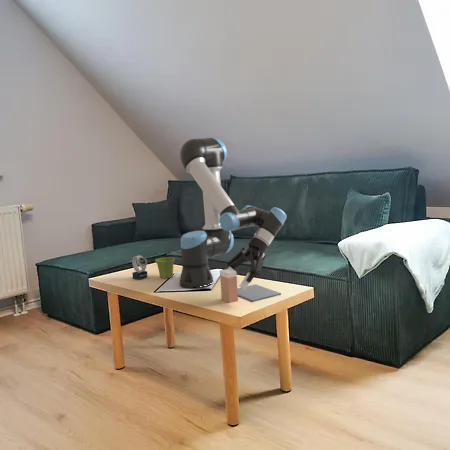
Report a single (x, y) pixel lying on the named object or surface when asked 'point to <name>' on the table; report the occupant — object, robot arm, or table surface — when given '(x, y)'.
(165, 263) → the plant pot
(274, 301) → the table surface
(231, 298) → the block
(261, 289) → the slate mat
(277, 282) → the table surface
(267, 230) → the robot arm
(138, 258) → the watch
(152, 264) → the table surface
